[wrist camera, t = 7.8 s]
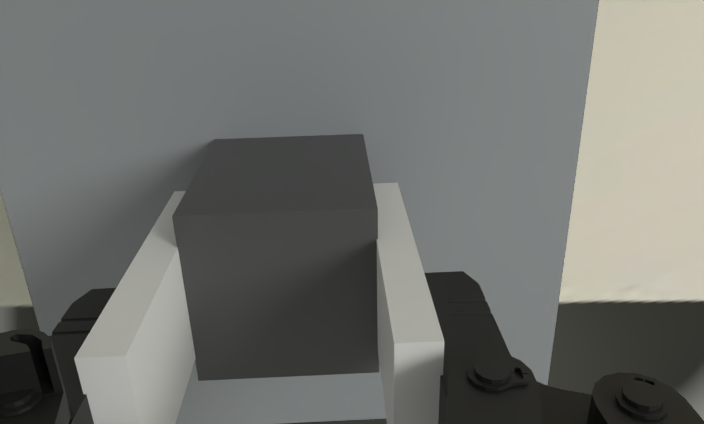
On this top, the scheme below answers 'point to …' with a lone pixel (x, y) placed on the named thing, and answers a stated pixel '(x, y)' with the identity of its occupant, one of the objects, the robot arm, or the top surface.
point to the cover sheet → (298, 75)
